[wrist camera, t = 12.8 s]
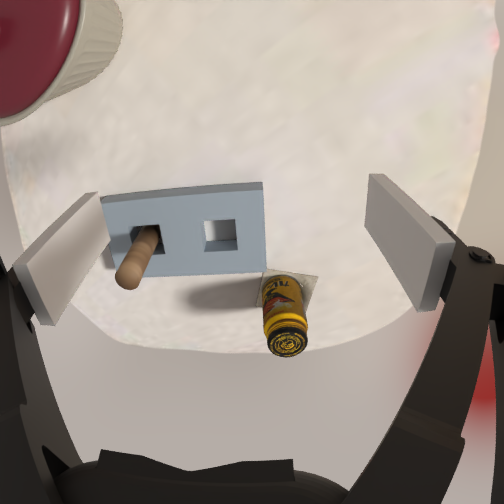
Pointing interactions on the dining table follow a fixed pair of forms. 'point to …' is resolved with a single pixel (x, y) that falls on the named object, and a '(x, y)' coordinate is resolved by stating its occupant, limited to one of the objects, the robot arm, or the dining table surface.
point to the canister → (52, 49)
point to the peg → (138, 257)
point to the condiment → (285, 310)
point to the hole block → (191, 228)
